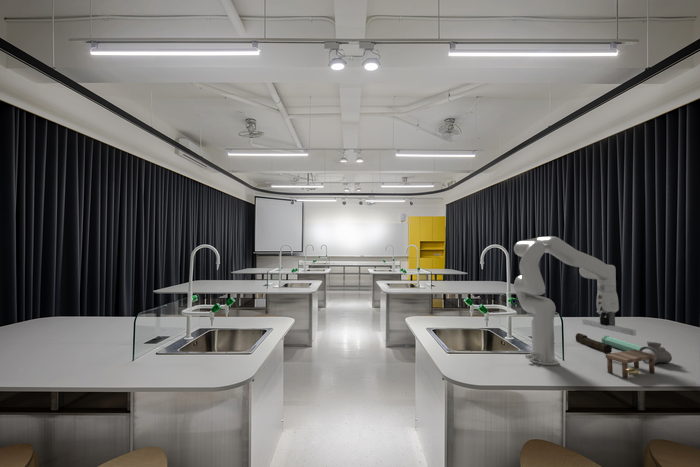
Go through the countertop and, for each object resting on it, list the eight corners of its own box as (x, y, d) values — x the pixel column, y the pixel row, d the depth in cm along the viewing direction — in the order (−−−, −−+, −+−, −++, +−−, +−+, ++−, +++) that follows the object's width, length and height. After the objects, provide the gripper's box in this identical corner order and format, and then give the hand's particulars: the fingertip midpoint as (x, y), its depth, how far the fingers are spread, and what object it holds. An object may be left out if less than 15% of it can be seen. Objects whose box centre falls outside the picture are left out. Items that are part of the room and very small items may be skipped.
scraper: (632, 335, 154) (631, 317, 154) (581, 324, 176) (581, 308, 177) (637, 335, 155) (636, 317, 155) (586, 323, 177) (585, 308, 178)
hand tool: (613, 353, 172) (612, 343, 172) (604, 353, 172) (603, 343, 172) (581, 341, 195) (581, 332, 195) (573, 341, 194) (573, 332, 195)
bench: (626, 379, 139) (625, 360, 139) (606, 372, 146) (605, 354, 147) (656, 373, 145) (655, 354, 145) (635, 366, 153) (634, 349, 153)
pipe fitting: (655, 365, 153) (655, 343, 154) (638, 361, 160) (637, 340, 162) (676, 367, 154) (675, 345, 156) (658, 362, 162) (657, 341, 164)
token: (631, 375, 143) (631, 371, 143) (620, 371, 148) (620, 367, 148) (641, 375, 143) (641, 371, 143) (630, 370, 148) (630, 366, 148)
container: (655, 347, 163) (607, 333, 188) (647, 352, 162) (599, 337, 187) (659, 357, 163) (611, 342, 188) (651, 363, 162) (603, 347, 187)
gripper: (603, 290, 160) (604, 327, 159) (625, 289, 166) (626, 325, 165) (587, 288, 167) (588, 324, 166) (609, 287, 173) (610, 322, 172)
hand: (607, 324), depth 166 cm, fingers closed on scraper, 3 cm apart
